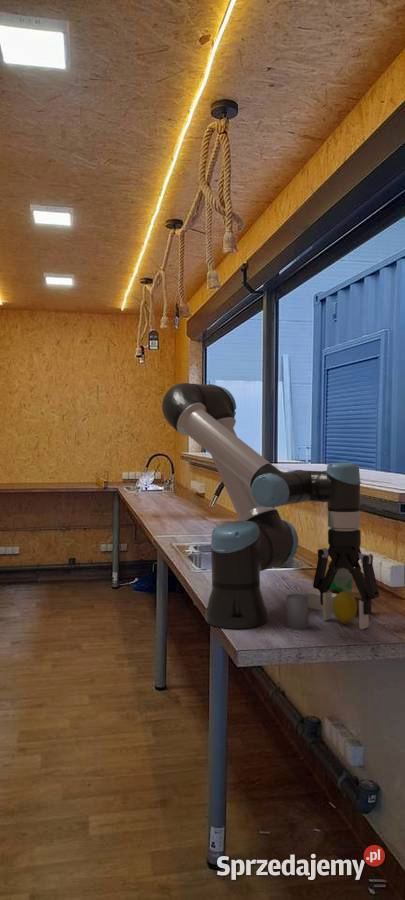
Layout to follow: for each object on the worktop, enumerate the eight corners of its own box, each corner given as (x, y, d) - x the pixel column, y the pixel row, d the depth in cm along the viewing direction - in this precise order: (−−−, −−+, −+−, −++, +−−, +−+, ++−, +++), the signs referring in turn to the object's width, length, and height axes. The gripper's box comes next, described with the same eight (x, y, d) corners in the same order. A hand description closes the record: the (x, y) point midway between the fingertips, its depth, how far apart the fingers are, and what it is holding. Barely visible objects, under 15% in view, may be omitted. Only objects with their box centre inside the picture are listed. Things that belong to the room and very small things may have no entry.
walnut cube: (363, 618, 154) (362, 597, 154) (342, 615, 157) (342, 595, 157) (367, 612, 159) (366, 593, 159) (347, 610, 161) (347, 591, 161)
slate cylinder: (300, 631, 145) (299, 600, 144) (282, 626, 148) (282, 597, 148) (312, 626, 148) (312, 596, 148) (295, 621, 152) (294, 592, 152)
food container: (353, 609, 162) (353, 570, 161) (329, 608, 163) (328, 569, 163) (356, 597, 173) (356, 561, 173) (333, 596, 175) (333, 560, 175)
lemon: (360, 627, 147) (359, 592, 147) (336, 628, 146) (336, 593, 146) (352, 620, 152) (352, 587, 152) (330, 621, 152) (329, 588, 152)
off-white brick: (331, 613, 159) (331, 597, 159) (305, 607, 165) (305, 592, 165) (340, 610, 162) (340, 594, 162) (314, 604, 168) (314, 589, 168)
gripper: (394, 531, 144) (396, 629, 144) (315, 522, 159) (316, 611, 160) (377, 535, 138) (378, 637, 139) (296, 526, 154) (298, 617, 155)
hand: (345, 623), depth 149 cm, fingers open, 9 cm apart
